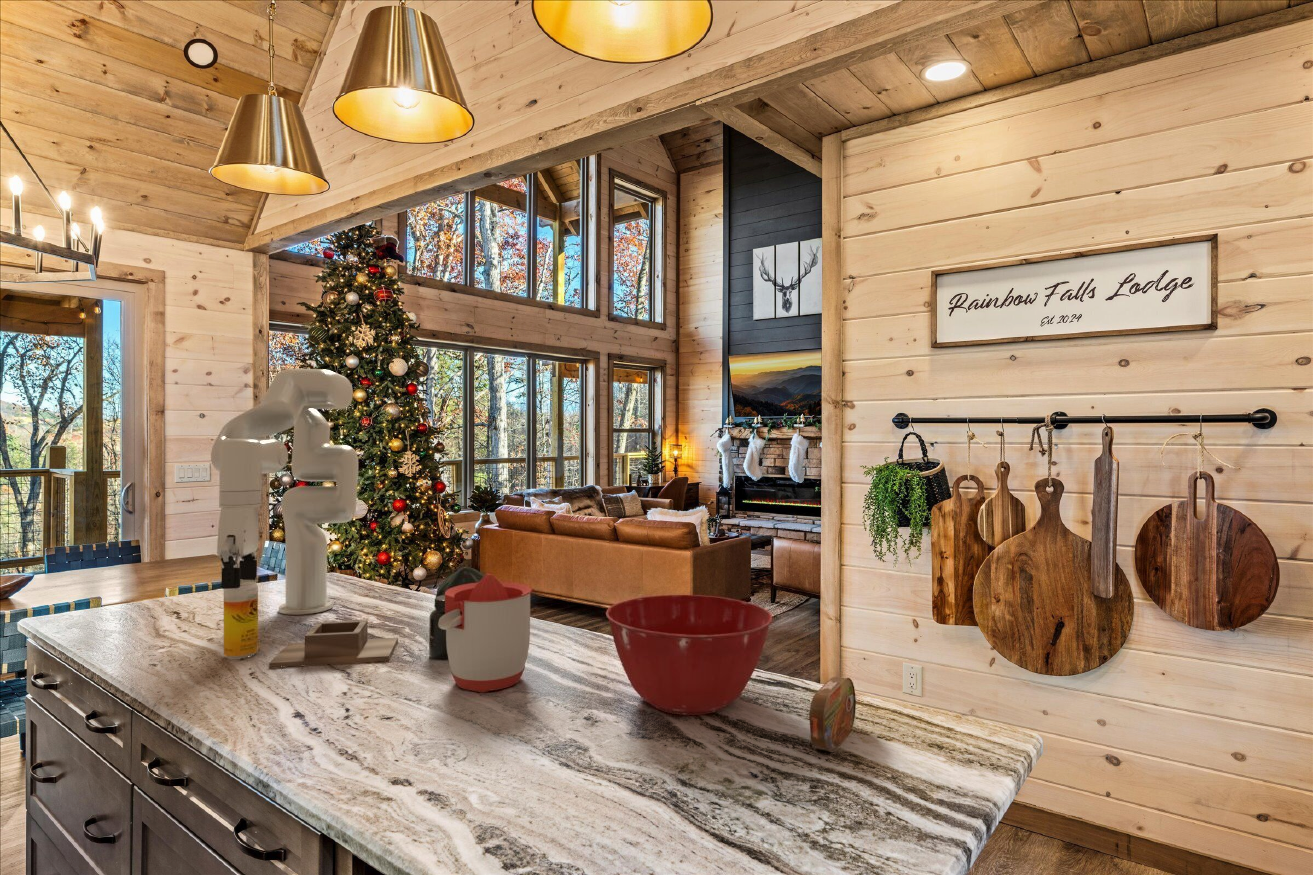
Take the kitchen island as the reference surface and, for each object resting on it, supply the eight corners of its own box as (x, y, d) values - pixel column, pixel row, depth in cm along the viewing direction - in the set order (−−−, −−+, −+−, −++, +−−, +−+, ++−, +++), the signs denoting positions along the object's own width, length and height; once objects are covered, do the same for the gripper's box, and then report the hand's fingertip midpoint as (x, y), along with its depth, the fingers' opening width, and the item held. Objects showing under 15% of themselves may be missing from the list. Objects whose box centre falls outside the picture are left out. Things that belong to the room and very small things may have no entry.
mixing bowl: (684, 662, 143) (685, 585, 143) (805, 701, 123) (805, 611, 123) (572, 699, 124) (572, 609, 123) (694, 752, 103) (694, 646, 103)
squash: (479, 590, 183) (448, 551, 174) (520, 601, 174) (490, 561, 165) (444, 636, 174) (410, 598, 166) (485, 650, 166) (451, 610, 157)
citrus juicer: (419, 684, 130) (419, 575, 130) (499, 662, 143) (499, 562, 143) (466, 707, 119) (466, 588, 119) (548, 681, 132) (549, 573, 132)
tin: (826, 761, 101) (827, 702, 101) (805, 756, 102) (805, 697, 102) (857, 724, 114) (858, 671, 113) (838, 720, 115) (838, 668, 115)
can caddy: (288, 648, 151) (288, 622, 151) (398, 642, 156) (398, 616, 156) (268, 668, 139) (268, 639, 138) (388, 660, 143) (388, 633, 143)
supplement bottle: (421, 658, 145) (421, 599, 145) (443, 648, 151) (443, 592, 151) (449, 662, 143) (449, 602, 142) (470, 652, 149) (470, 595, 149)
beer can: (246, 660, 143) (246, 585, 143) (216, 660, 143) (216, 585, 143) (264, 651, 149) (264, 579, 149) (235, 650, 149) (235, 579, 149)
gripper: (235, 496, 153) (234, 576, 153) (202, 502, 136) (201, 592, 136) (273, 496, 155) (273, 575, 155) (246, 502, 138) (245, 591, 138)
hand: (239, 583), depth 145 cm, fingers open, 9 cm apart
